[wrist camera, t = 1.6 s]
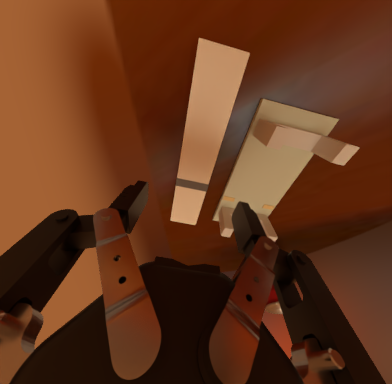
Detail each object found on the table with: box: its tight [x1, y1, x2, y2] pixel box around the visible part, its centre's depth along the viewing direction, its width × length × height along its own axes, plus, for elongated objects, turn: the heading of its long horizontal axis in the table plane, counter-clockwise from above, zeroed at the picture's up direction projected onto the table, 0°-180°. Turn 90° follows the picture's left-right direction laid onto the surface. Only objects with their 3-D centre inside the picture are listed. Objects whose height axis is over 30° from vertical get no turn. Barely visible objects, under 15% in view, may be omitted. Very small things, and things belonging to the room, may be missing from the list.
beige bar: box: [170, 38, 250, 225], centre depth 19 cm, size 22×4×4 cm, turn 168°
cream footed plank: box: [213, 99, 360, 242], centre depth 21 cm, size 21×10×6 cm, turn 168°
